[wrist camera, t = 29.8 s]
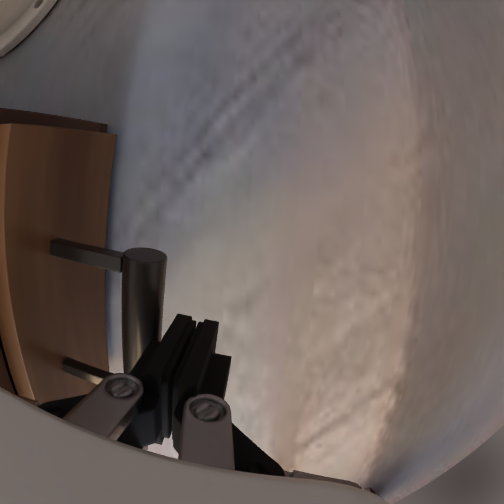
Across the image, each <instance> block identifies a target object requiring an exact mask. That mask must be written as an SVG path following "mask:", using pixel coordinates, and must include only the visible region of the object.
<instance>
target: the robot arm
mask: <svg viewBox="0 0 504 504" xmlns="http://www.w3.org/2000/svg"><path fill="white" fill-rule="evenodd" d="M56 2H57V0H0V57H1V56H3V55H5V54H6V53H7V52H9V51H10V50H12V49H13V48H14V47H15V46H17V45H18V44H19V43H20V42H21V41H22V40H23V39H24V38H26V37H27V35H28V34H29V33H30V32H31V31H32V30H33V29H34V28H35V27H36V26H37V25H38V24H39V23H40V22H41V20H42V19H43V18H44V17H45V16H46V15H47V13H48V12H49V11H50V10H51V8H52V7H53V6H54V4H55V3H56ZM218 325H219V322H217V321H212V320H207V319H205V320H204V322H199V323H198V325H197V327H196V321H193V320H192V317H191V316H187V315H182V314H177V316H176V317H175V319H174V321H173V322H172V324H171V325H170V327H169V329H168V330H167V332H166V333H165V335H164V337H163V338H162V340H161V342H160V341H156V340H151V341H150V343H149V344H148V346H147V347H146V349H145V350H144V352H143V353H142V355H141V356H140V358H139V359H138V361H137V363H136V364H135V366H134V367H133V369H132V370H131V372H130V373H129V374H126V373H116V374H111V375H109V376H107V377H105V378H104V379H103V380H102V381H101V382H100V383H99V384H98V385H97V386H96V387H94V388H93V389H92V390H91V391H90V392H89V393H88V394H85V395H80V396H75V397H70V398H65V399H59V400H54V401H48V402H45V403H42V404H41V405H40V404H39V402H38V401H36V400H33V399H29V398H26V397H22V396H19V395H16V394H13V393H10V392H8V391H6V390H5V389H3V388H1V387H0V504H388V503H387V502H386V501H385V500H384V499H382V498H381V497H379V496H378V495H376V494H373V493H371V492H369V491H366V490H363V489H362V488H361V487H360V486H359V485H358V484H356V483H354V482H351V481H347V480H341V479H335V478H329V477H324V476H319V475H314V474H309V473H305V472H301V471H296V470H293V472H288V471H284V470H283V469H282V468H281V466H280V465H279V464H278V463H277V462H275V461H274V460H273V459H272V458H271V457H269V456H268V455H267V454H266V453H265V452H264V451H262V450H261V449H260V448H259V447H258V446H257V445H256V444H254V443H253V442H252V441H251V440H250V439H249V438H248V437H247V436H246V435H244V434H243V433H242V432H241V431H240V430H239V429H238V428H237V427H236V426H235V425H234V424H233V423H232V420H231V409H230V406H229V405H228V403H227V402H226V401H225V400H224V397H225V392H226V387H227V381H228V376H229V370H230V364H231V356H226V355H221V354H215V348H216V341H217V333H218ZM171 432H172V439H173V447H174V449H175V450H176V451H177V452H178V454H179V457H178V459H175V458H171V457H167V456H164V455H160V454H156V453H153V452H149V451H147V450H148V445H150V444H153V443H157V444H161V445H162V442H163V439H164V437H165V438H169V437H170V435H171Z"/></svg>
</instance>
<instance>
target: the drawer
mask: <svg viewBox="0 0 504 504" xmlns="http://www.w3.org/2000/svg"><path fill="white" fill-rule="evenodd" d="M116 138H117V135H115V134H108V133H101V132H94V131H86V130H78V129H70V128H61V127H51V126H40V125H28V124H14V123H9V124H0V347H1V351H2V355H3V358H4V361H5V365H6V368H7V371H8V374H9V377H10V380H11V383H12V386H13V389H14V392H15V394H16V395H19V396H22V397H26V398H29V399H33V400H36V401H38V402H39V404H40V405H41V404H42V403H45V402H48V401H54V400H59V399H65V398H70V397H75V396H80V395H85V394H88V393H89V392H90V391H91V390H92V389H93V388H94V387H96V386H97V385H98V384H99V383H100V382H101V381H102V380H103V379H104V378H105V377H107V376H109V375H111V374H114V373H111V372H109V362H108V350H107V335H106V314H105V269H107V270H111V271H115V272H120V273H121V272H122V347H123V367H124V373H126V374H129V373H130V372H131V370H132V369H133V367H134V366H135V364H136V363H137V361H138V359H139V358H140V356H141V355H142V353H143V352H144V350H145V349H146V347H147V346H148V344H149V343H150V341H151V340H156V341H160V342H161V336H162V318H163V302H164V289H165V277H166V266H167V256H166V254H165V253H163V252H161V251H159V250H156V249H151V248H132V249H128V250H126V251H125V252H119V251H114V250H110V249H106V230H107V215H108V203H109V192H110V182H111V174H112V166H113V158H114V151H115V145H116Z"/></svg>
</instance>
